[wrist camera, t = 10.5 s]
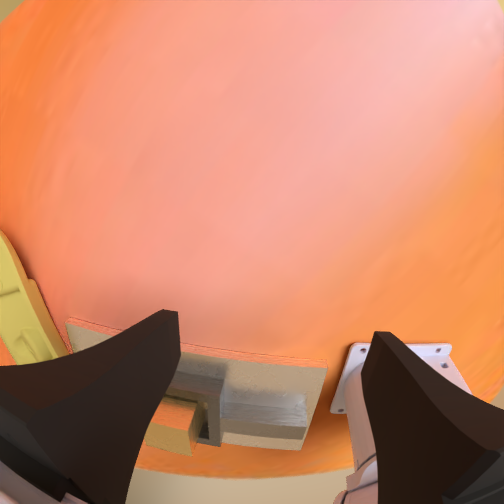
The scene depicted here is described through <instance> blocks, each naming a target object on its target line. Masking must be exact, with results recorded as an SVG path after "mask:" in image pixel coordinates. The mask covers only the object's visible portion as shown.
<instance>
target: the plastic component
mask: <svg viewBox="0 0 504 504" xmlns="http://www.w3.org/2000/svg"><path fill="white" fill-rule="evenodd" d="M0 336H1V338H2V340H3V342H4V343H5V345H6V347H7V349H8V350H9V352H10V354H11V355H12V357H13V359H14V360H15V362H16V363H17V365H23V364H30V363H37V362H42V361H47V360H51V359H55V358H59V357H62V356H66V355H69V354H70V353H69V352H68V350H67V348H66V346H65V344H64V342H63V340H62V338H61V337H60V335H59V333H58V331H57V329H56V327H55V325H54V323H53V321H52V318H51V316H50V314H49V312H48V310H47V308H46V305H45V303H44V301H43V299H42V296H41V294H40V292H39V289H38V287H37V284H36V282H35V281H34V280H33V279H28V278H27V276H26V273H25V271H24V268H23V266H22V264H21V262H20V259H19V257H18V256H17V254H16V252H15V250H14V248H13V246H12V245H11V243H10V241H9V240H8V238H7V237H6V235H5V234H4V233H3V232H2V230H1V229H0Z"/></svg>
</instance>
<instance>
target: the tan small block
mask: <svg viewBox="0 0 504 504" xmlns="http://www.w3.org/2000/svg"><path fill="white" fill-rule="evenodd" d="M205 415H206V412H205V402H200V401H195V400H190V399H185V398H181V397H176V396H171V395H167V394H165V395H164V396H163V398H162V400H161V402H160V404H159V406H158V408H157V410H156V412H155V414H154V416H153V418H152V419H151V422H150V424H149V426H148V428H147V431H146V434H145V436H144V439H145V442H146V445H148V446H151V447H155V448H159V449H162V450H166V451H170V452H174V453H178V454H182V455H187V456H191V457H193V453H194V450H195V447H196V444H197V441H198V438H199V434H200V431H201V428H202V425H203V422H204V418H205Z"/></svg>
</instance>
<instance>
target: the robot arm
mask: <svg viewBox="0 0 504 504" xmlns="http://www.w3.org/2000/svg"><path fill="white" fill-rule="evenodd" d="M362 348H365V349H364V350H362V351H361V349H362ZM451 349H452V346H451V345H450V344H449V343H430V344H404V343H403V342H402V341H401V340H399V339H398V338H397V337H396V336H395V335H393V334H392V333H391V332H380V331H375V332H374V335H373V338H372V342H371V343H354V344H353V345H351V347H350V349H349V353H348V356H347V359H346V362H345V366H344V369H343V372H342V375H341V378H340V381H339V384H338V387H337V389H336V392H335V395H334V398H333V401H332V403H331V406H330V412H331V413H333V414H347V418H348V425H349V431H350V438H351V445H352V452H353V459H354V467H355V473H353V474H352V475H349V476H347V477H346V481H347V490H344V491H342V492H341V493H339V494H338V496H337V497H336V498H335V500H334V502H333V504H504V410H503V409H500V408H498V407H495V406H493V405H491V404H488V403H486V402H484V401H482V400H480V399H479V398H477V397H475V396H473V394H472V393H471V391H470V389H469V388H468V386H467V384H466V383H465V381H464V379H463V378H462V376H461V374H460V373H459V371H458V369H457V368H456V366H455V365H454V363H453V361H452V360H451V358H450V357H449V353H450V351H451ZM180 357H181V347H180V335H179V321H178V312H176V311H170V310H164V309H162V310H160V311H158V312H156V313H154V314H153V315H151V316H149V317H147V318H146V319H144V320H142V321H140V322H139V323H137V324H135V325H133V326H132V327H130V328H128V329H126V330H125V331H123V332H121V333H119V334H117V335H115V336H113V337H111V338H109V339H107V340H105V341H103V342H101V343H99V344H96V345H94V346H92V347H89V348H87V349H84V350H81V351H79V352H76V353H73V354H69V355H66V356H62V357H59V358H55V359H51V360H47V361H42V362H37V363H30V364H23V365H11V366H0V504H125V501H126V497H127V492H128V488H129V484H130V480H131V477H132V473H133V469H134V466H135V463H136V460H137V457H138V454H139V451H140V448H141V445H142V442H143V439H144V436H145V434H146V431H147V428H148V426H149V424H150V422H151V419H152V418H153V416H154V414H155V412H156V410H157V408H158V406H159V404H160V402H161V400H162V398H163V396H164V395H165V393H166V391H167V389H168V387H169V385H170V383H171V381H172V379H173V377H174V374H175V372H176V369H177V366H178V363H179V360H180Z"/></svg>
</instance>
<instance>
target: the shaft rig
mask: <svg viewBox="0 0 504 504" xmlns="http://www.w3.org/2000/svg"><path fill="white" fill-rule="evenodd" d="M65 326H66V329H67V333H68V336H69V340H70V343H71V346H72V349H73V352H74V353H76V352H79V351H81V350H84V349H87V348H89V347H92V346H94V345H96V344H99V343H101V342H103V341H105V340H107V339H109V338H111V337H113V336H115V335H117V334H119V333H121V332H123V331H121V330H117V329H113V328H109V327H105V326H101V325H97V324H93V323H89V322H86V321H82V320H78V319H75V318H71V317H70V318H69V319H68V320H67V321H66V322H65ZM180 347H181V357H180V360H179V363H178V366H177V369H176V372H175V374H174V377H173V379H172V381H171V383H170V385H169V387H168V389H167V391H166V393H165V394H167V395H171V396H176V397H181V398H185V399H190V400H195V401H200V402H205V412H206V415H205V418H204V422H203V425H202V428H201V431H200V434H199V438H198V441H197V443H201V444H207V445H212V446H218V447H221V443H228V444H235V445H242V446H250V447H260V448H270V449H283V450H301V448H302V445H303V443H304V440H305V437H306V434H307V432H308V429H309V426H310V423H311V420H312V417H313V414H314V411H315V408H316V405H317V402H318V399H319V396H320V393H321V390H322V386H323V383H324V380H325V376H326V373H327V369H328V365H327V360H319V359H304V358H291V357H280V356H269V355H260V354H251V353H243V352H235V351H228V350H221V349H214V348H208V347H201V346H195V345H189V344H184V343H180Z"/></svg>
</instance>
